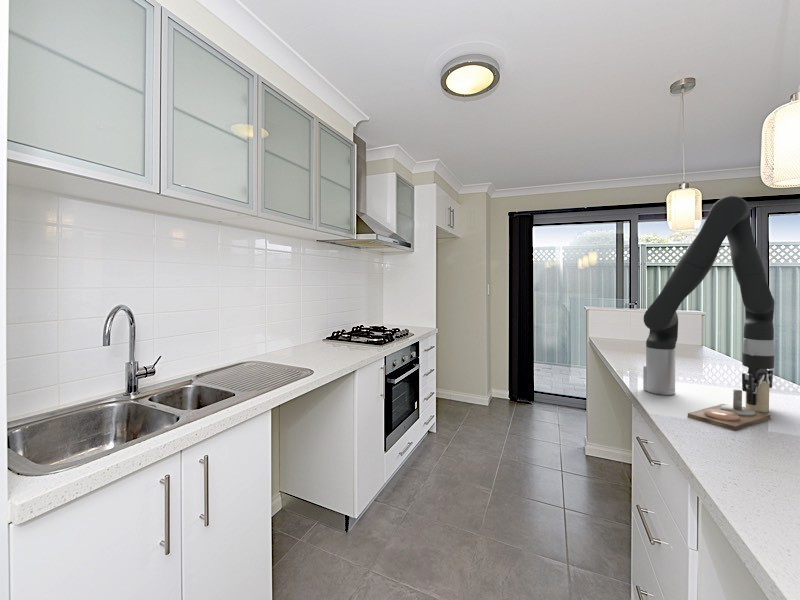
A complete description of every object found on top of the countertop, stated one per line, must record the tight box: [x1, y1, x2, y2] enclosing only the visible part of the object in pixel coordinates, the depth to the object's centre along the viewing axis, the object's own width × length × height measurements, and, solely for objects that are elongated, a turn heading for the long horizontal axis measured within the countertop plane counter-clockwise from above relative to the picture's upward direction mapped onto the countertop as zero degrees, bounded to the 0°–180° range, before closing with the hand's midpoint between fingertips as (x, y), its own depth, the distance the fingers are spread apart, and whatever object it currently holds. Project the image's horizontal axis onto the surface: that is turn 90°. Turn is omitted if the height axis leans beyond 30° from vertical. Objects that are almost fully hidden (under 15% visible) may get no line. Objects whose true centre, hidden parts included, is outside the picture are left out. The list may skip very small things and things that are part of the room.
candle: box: [745, 381, 770, 413], centre depth 120 cm, size 6×6×10 cm
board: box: [687, 388, 772, 431], centre depth 113 cm, size 12×20×8 cm, turn 114°
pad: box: [705, 409, 739, 421], centre depth 111 cm, size 8×8×1 cm
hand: (757, 402), depth 120 cm, fingers open, 6 cm apart
